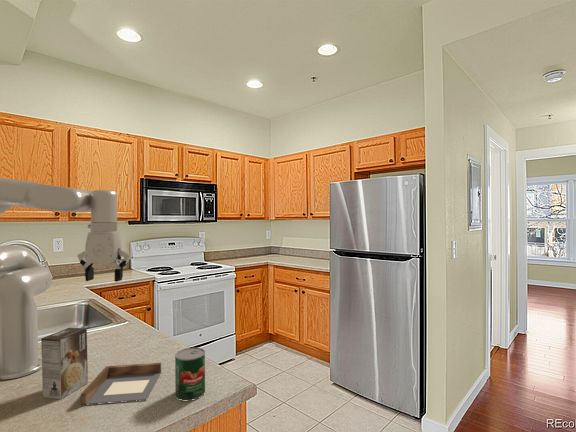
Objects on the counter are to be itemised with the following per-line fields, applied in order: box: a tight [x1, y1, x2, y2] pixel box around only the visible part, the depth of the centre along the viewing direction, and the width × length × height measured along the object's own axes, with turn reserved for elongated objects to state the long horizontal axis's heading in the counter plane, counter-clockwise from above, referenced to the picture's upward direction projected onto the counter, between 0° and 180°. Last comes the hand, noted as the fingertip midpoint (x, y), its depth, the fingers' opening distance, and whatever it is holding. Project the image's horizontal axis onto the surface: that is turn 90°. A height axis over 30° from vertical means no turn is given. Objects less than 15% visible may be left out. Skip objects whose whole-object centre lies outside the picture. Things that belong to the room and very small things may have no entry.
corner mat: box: [85, 373, 161, 406], centre depth 94 cm, size 16×16×1 cm
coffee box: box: [41, 327, 89, 400], centre depth 93 cm, size 9×6×16 cm
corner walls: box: [80, 362, 162, 406], centre depth 94 cm, size 16×16×3 cm
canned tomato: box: [174, 347, 206, 400], centre depth 91 cm, size 8×8×11 cm
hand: (103, 280), depth 109 cm, fingers open, 9 cm apart
